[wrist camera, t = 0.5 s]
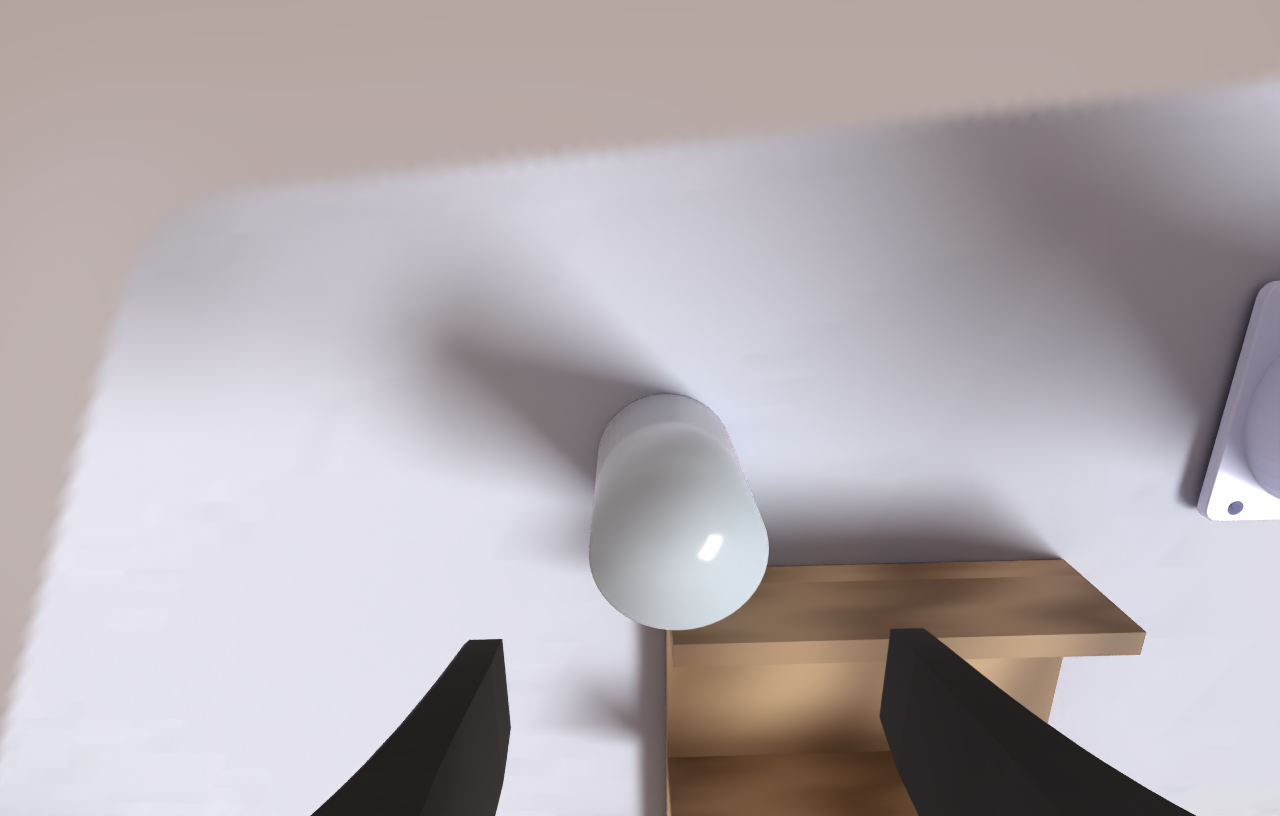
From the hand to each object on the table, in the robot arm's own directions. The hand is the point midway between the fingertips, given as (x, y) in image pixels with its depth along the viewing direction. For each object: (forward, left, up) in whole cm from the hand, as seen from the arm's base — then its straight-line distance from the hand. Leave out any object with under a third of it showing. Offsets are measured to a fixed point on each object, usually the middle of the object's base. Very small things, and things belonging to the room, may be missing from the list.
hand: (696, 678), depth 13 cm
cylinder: (0, 0, -10) cm, 10 cm away
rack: (-7, +12, -10) cm, 17 cm away
